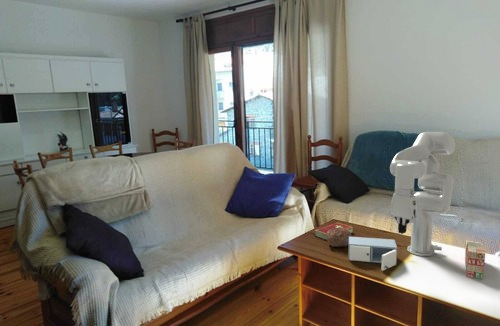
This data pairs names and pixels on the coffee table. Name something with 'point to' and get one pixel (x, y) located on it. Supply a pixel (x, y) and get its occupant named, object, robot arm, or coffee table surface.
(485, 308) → the coffee table surface
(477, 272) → the stack of blocks
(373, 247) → the cabinet
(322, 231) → the hardcover book
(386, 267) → the left door
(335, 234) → the decorative rock
